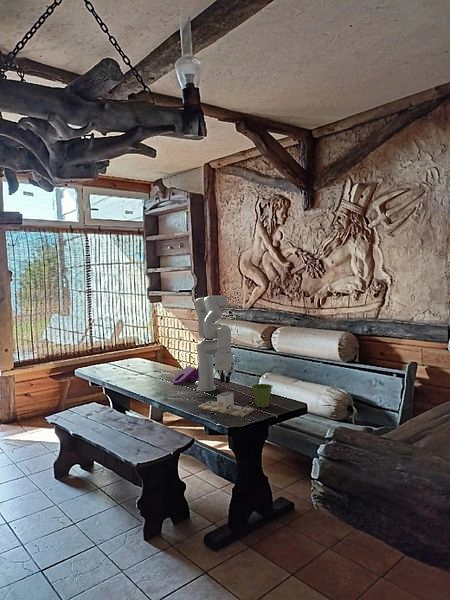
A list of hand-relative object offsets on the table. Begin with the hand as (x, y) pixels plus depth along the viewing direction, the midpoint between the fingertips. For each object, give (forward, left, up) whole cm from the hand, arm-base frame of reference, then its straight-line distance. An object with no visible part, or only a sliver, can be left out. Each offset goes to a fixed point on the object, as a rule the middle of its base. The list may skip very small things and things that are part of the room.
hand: (225, 382), depth 251 cm
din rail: (0, 0, -15) cm, 15 cm away
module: (0, 0, -14) cm, 14 cm away
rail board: (0, 0, -15) cm, 15 cm away
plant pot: (+14, +16, -15) cm, 26 cm away
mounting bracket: (-59, +35, -16) cm, 70 cm away
